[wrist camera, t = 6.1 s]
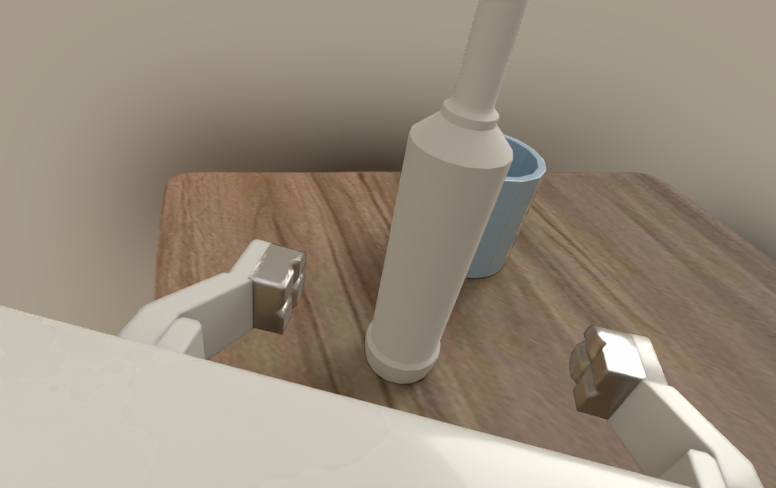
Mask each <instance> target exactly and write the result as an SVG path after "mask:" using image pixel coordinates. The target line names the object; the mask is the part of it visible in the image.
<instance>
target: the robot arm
mask: <svg viewBox="0 0 776 488" xmlns="http://www.w3.org/2000/svg"><path fill="white" fill-rule="evenodd" d="M306 256H307V254H306V253H305V252H302V251H299V250H295V249H292V248H288V247H284V246H281V245H277V244H274V243H269V242H265V241H261V240H258V239H255V240H253V241H251V243H250V244H249V245H248V247H247V248H246V250H245V251H244V252H243V254H242V255H241V256H240V258H239V259H238V261H237V262H236V263H235V265H234V266H233V267H232V269H231V270H230V272H229V273H224V272H223V273H220V274H218V275H216V276H213V277H211V278H208V279H206V280H204V281H201V282H199V283H196V284H194V285H191V286H189V287H187V288H184V289H182V290H179V291H177V292H175V293H172V294H170V295H167V296H165V297H162V298H160V299H158V300H155V301H153V302H150V303H148V304H146V305H144V306H143V307H142V308H141V309H140V310H139V311H138V312H137V313H136V315H135V316H134V317H133V318H132V319H131V320H130V321H129V323H128V324H127V325H126V326H125V327H124V328H123V329H122V330H121V332H120V333H119V334H118V335H117V336H114V335H110V334H106V333H102V332H99V331H95V330H91V329H87V328H83V327H79V326H76V325H72V324H68V323H64V322H60V321H57V320H53V319H49V318H45V317H42V316H37V315H34V314H30V313H26V312H22V311H19V310H15V309H11V308H8V307H4V306H1V305H0V488H763V486H762V484H761V482H760V480H759V477H758V475H757V473H756V471H755V469H754V467H753V465H752V463H751V462H750V461H749V460H748V459H747V458H746V457H745V456H743V455H742V454H741V453H740V452H739V451H738V450H737V449H736V448H735V447H734V446H733V445H732V444H731V443H730V442H729V441H728V440H727V439H726V438H725V437H724V436H723V435H722V434H721V433H720V432H719V431H718V430H717V429H716V428H715V427H714V426H713V425H712V424H711V423H710V422H709V421H708V420H707V419H706V418H705V417H704V416H703V415H702V414H701V413H699V412H698V411H697V410H696V409H695V408H694V407H693V406H692V405H691V404H690V403H689V402H688V401H687V400H686V399H685V398H684V397H683V396H682V395H681V394H680V393H679V392H678V391H677V390H676V389H675V388H674V387H670V386H668V384H667V381H666V379H665V376H664V374H663V371H662V369H661V366H660V364H659V361H658V358H657V356H656V353H655V351H654V348H653V346H652V343H651V341H650V340H649V339H648V338H647V337H643V336H639V335H634V334H630V333H624V332H620V331H616V330H612V329H608V328H604V327H600V326H596V325H591V326H589V327H588V328H587V329H586V331H585V332H584V338H585V341H583V342H580V343H578V344H577V345H576V346H575V348H574V350H573V351H572V354H571V358H570V363H569V370H570V376H571V378H572V379H573V380H574V381H575V382H576V384H577V385H576V386H575V388H574V389H573V393H574V398H575V403H576V409H577V411H580V412H583V413H586V414H590V415H593V416H597V417H600V418H604V419H607V421H608V423H609V424H610V426H611V427H612V429H613V430H614V432H615V433H616V434H617V436H618V437H619V439H620V440H621V442H622V443H623V445H624V446H625V448H626V449H627V451H628V452H629V453H630V455H631V456H632V458H633V459H634V461H635V462H636V464H637V465H638V467H639V468H640V469H641V471H642V472H643V474H644V475H643V474H639V473H635V472H631V471H628V470H624V469H620V468H616V467H612V466H608V465H605V464H601V463H597V462H593V461H589V460H585V459H582V458H578V457H574V456H570V455H566V454H563V453H559V452H555V451H551V450H547V449H544V448H540V447H536V446H532V445H529V444H525V443H521V442H517V441H513V440H510V439H506V438H502V437H498V436H494V435H491V434H487V433H483V432H479V431H475V430H472V429H468V428H464V427H460V426H456V425H453V424H449V423H445V422H441V421H437V420H434V419H430V418H426V417H422V416H418V415H414V414H411V413H407V412H403V411H399V410H395V409H392V408H388V407H384V406H380V405H376V404H373V403H369V402H365V401H361V400H357V399H354V398H350V397H346V396H342V395H338V394H334V393H331V392H327V391H323V390H319V389H315V388H312V387H308V386H304V385H300V384H296V383H293V382H289V381H285V380H281V379H277V378H274V377H270V376H266V375H262V374H258V373H255V372H251V371H247V370H243V369H239V368H236V367H232V366H228V365H224V364H220V363H216V362H213V361H209V360H207V359H209V358H210V357H212V356H214V355H215V354H217V353H218V352H220V351H221V350H223V349H224V348H226V347H227V346H229V345H230V344H232V343H233V342H235V341H236V340H238V339H239V338H241V337H242V336H244V335H245V334H247V333H248V332H250V331H251V330H253V328H257V329H261V330H265V331H270V332H274V333H278V334H283V333H284V331H285V329H286V327H287V325H288V323H289V321H290V319H291V312H292V308H294V307H296V306H297V304H298V302H299V300H300V297H301V294H302V291H303V287H304V282H305V274H304V273H303V269H304V267H305V265H306Z"/></svg>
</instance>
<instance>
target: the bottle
mask: <svg viewBox="0 0 776 488" xmlns="http://www.w3.org/2000/svg"><path fill="white" fill-rule="evenodd" d="M528 1H529V0H479V1H478V5H477V9H476V12H475V16H474V20H473V24H472V27H471V31H470V35H469V39H468V42H467V46H466V50H465V53H464V57H463V61H462V65H461V68H460V72H459V76H458V80H457V84H456V87H455V91H454V94H453V96H452V97H451V98H449V99H447V100H445V101H444V104H443V107H442V110H440V111H439V112H437V113H435V114H433V115H431V116H429V117H427V118H426V119H424V120H422V121H420V122H418V123H416V124H414V125H413V126H412V128H411V130H410V133H409V137H408V142H407V148H406V153H405V158H404V163H403V168H402V173H401V179H400V184H399V189H398V194H397V199H396V205H395V210H394V215H393V220H392V225H391V230H390V236H389V241H388V246H387V251H386V256H385V262H384V267H383V272H382V277H381V282H380V288H379V293H378V298H377V303H376V308H375V314H374V319H373V321H372V322H371V323H370V324H369V327H368V330H367V333H366V338H365V351H366V357H367V362H368V363H369V365H370V366H371V368H372V369H373V371H374V372H375V373H376V374H378V375H379V376H380V377H382V378H383V379H385V380H387V381H390V382H394V383H397V384H408V383H414V382H416V381H418V380H420V379H422V378H424V377H425V376H426V375H427V373H428V372H429V371H430V370H431V368H432V367H433V366H434V364H435V363H436V361H437V358H438V356H439V350H440V339H441V337H442V334H443V332H444V329H445V327H446V324H447V322H448V319H449V317H450V314H451V312H452V309H453V307H454V304H455V302H456V299H457V297H458V295H459V292H460V290H461V287H462V285H463V282H464V280H465V277H466V275H467V272H468V270H469V267H470V265H471V262H472V260H473V257H474V255H475V252H476V250H477V247H478V245H479V242H480V240H481V238H482V235H483V233H484V230H485V228H486V225H487V223H488V220H489V218H490V215H491V213H492V210H493V208H494V205H495V203H496V200H497V198H498V195H499V193H500V190H501V188H502V185H503V183H504V181H505V178H506V176H507V173H508V171H509V168H510V166H511V163H512V161H513V150H512V149H511V147H510V145H509V144H508V142H507V140H506V139H505V137H504V135H503V134H502V132H501V130H500V129H499V127H498V125H497V122H498V119H499V114H498V112H497V111H496V110H495V108H494V106H495V103H496V100H497V97H498V94H499V91H500V87H501V85H502V81H503V78H504V75H505V72H506V69H507V66H508V63H509V60H510V56H511V53H512V50H513V47H514V44H515V41H516V38H517V35H518V32H519V29H520V25H521V22H522V19H523V16H524V13H525V10H526V7H527V4H528Z"/></svg>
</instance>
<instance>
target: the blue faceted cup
mask: <svg viewBox="0 0 776 488" xmlns="http://www.w3.org/2000/svg"><path fill="white" fill-rule="evenodd" d="M502 134H503V133H502ZM503 135H504V137H505V139H506V140H507V142H508V144H509V145H510V147H511V149H512V150H513V161H512V163H511V166H510V168H509V171H508V173H507V176H506V178H505V181H504V183H503V185H502V188H501V190H500V193H499V195H498V198H497V200H496V203H495V205H494V208H493V210H492V213H491V215H490V218H489V220H488V223H487V225H486V228H485V230H484V233H483V235H482V238H481V240H480V242H479V245H478V247H477V250H476V252H475V255H474V257H473V260H472V262H471V265H470V267H469V270H468V272H467V275H466V277H465V278H483V277H488V276H491V275H493V274H495V273H497V272H498V271H500V270H501V269H502V268H503V266H504V265H505V262H506V260H507V258H508V257H509V255H510V253H511V251H512V248H513V246H514V244H515V241H516V239H517V237H518V235H519V232H520V230H521V228H522V225H523V223H524V221H525V218H526V216H527V214H528V212H529V209H530V207H531V205H532V202H533V200H534V198H535V195H536V193H537V191H538V189H539V186H540V184H541V182H542V179H543V177H544V175H545V172H546V166H545V161H544V159H543V158H542V157H541V156H540V155H539V154H538V153H537V152H536V151H535V150H534V149H532V148H531V147H529V146H527V145H526V144H524V143H523V142H521V141H519V140H517V139H515V138H512V137H510V136H508V135H505V134H503Z"/></svg>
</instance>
